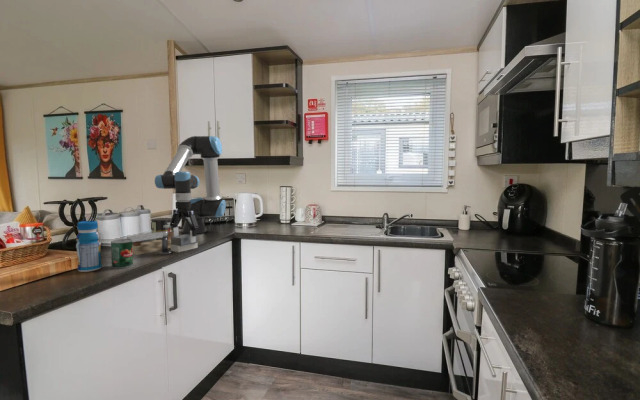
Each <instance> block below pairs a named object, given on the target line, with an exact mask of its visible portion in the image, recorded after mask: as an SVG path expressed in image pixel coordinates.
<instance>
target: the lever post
mask: <svg viewBox="0 0 640 400" xmlns="http://www.w3.org/2000/svg"><path fill="white" fill-rule="evenodd" d="M172 252H173V251H171V250H169V248H168V239H167V237H162V250H159V251H158V256H159V255H160V256H165V255H171V254H172Z"/></svg>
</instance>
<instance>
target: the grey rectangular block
mask: <svg viewBox="0 0 640 400" xmlns="http://www.w3.org/2000/svg"><path fill="white" fill-rule="evenodd" d="M197 242H198V234H196V242H193V243H190V234H184V233H183V234H179V236H173V237H171V245H177V246H185V245H189V244H194V243H197Z"/></svg>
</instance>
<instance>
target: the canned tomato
mask: <svg viewBox="0 0 640 400" xmlns="http://www.w3.org/2000/svg"><path fill="white" fill-rule="evenodd" d="M132 245H133V242H132V240H131V239H127V238H120V239H115V240H111V241H110V249H111V251H110V252H111V253H110V254H111V268H112V269H125V268H129V267H132V266H133V265H134V254H133V253H132V252H133V251H132Z"/></svg>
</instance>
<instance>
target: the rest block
mask: <svg viewBox="0 0 640 400" xmlns="http://www.w3.org/2000/svg"><path fill="white" fill-rule="evenodd" d="M198 245H199V244H198V241H197V243H194V244H189V245H185V246H177V245H171V248H170V251H172V252H175V253H181V252H186V251H189V250H190V251H191V250H194V249H197V248H199V246H198Z"/></svg>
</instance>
